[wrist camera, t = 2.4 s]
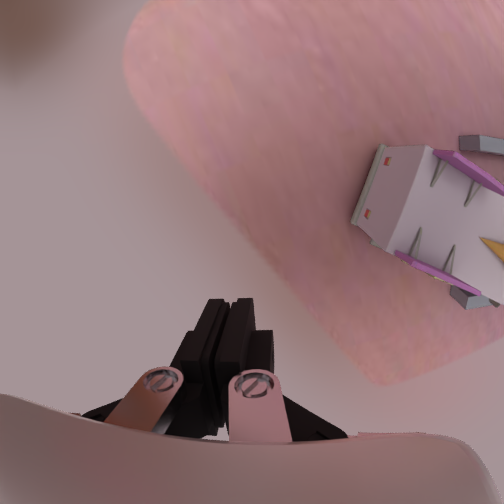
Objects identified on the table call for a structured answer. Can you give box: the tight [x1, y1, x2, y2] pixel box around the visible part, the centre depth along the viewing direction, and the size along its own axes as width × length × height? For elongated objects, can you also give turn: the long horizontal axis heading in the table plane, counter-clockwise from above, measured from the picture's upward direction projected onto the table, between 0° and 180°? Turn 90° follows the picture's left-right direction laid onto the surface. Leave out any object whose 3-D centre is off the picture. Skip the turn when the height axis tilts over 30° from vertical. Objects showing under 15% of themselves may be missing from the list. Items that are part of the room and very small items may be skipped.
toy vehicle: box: [350, 144, 504, 307], centre depth 20 cm, size 9×20×15 cm, turn 71°
